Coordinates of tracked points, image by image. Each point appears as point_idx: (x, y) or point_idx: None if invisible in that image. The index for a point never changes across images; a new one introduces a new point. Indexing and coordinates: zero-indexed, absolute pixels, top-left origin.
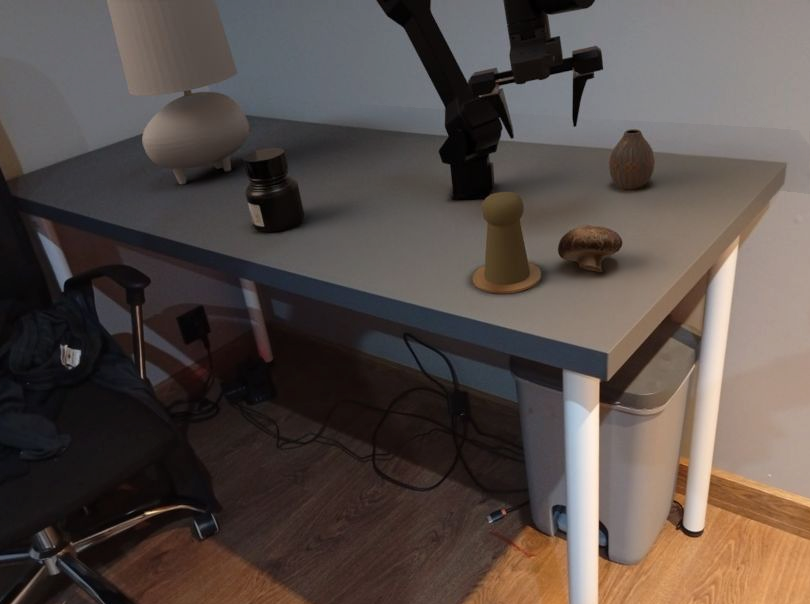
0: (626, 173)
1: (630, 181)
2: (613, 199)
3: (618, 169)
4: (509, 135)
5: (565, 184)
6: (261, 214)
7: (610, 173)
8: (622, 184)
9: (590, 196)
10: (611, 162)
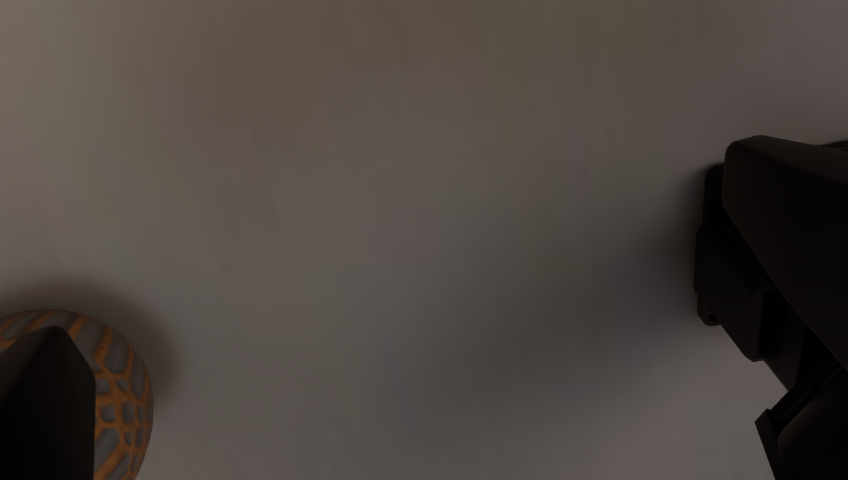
0: (15, 336)
1: (17, 316)
2: (85, 202)
3: None
4: (787, 141)
5: (371, 348)
6: None
7: (135, 370)
8: (71, 314)
9: (211, 229)
10: (104, 402)
